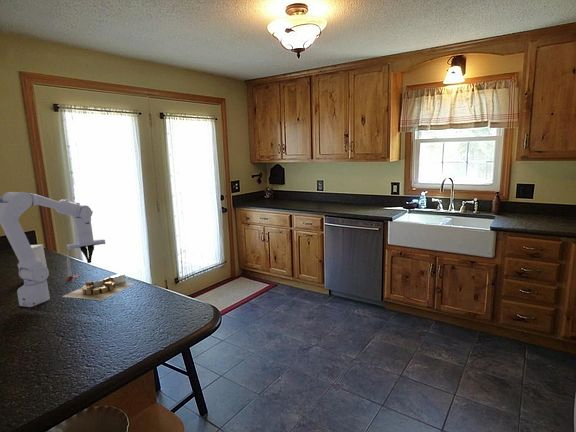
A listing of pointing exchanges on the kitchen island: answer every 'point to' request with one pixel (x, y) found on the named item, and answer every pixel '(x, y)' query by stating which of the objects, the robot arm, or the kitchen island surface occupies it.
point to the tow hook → (69, 270)
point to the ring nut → (108, 285)
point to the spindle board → (100, 296)
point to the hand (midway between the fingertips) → (89, 262)
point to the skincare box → (39, 253)
